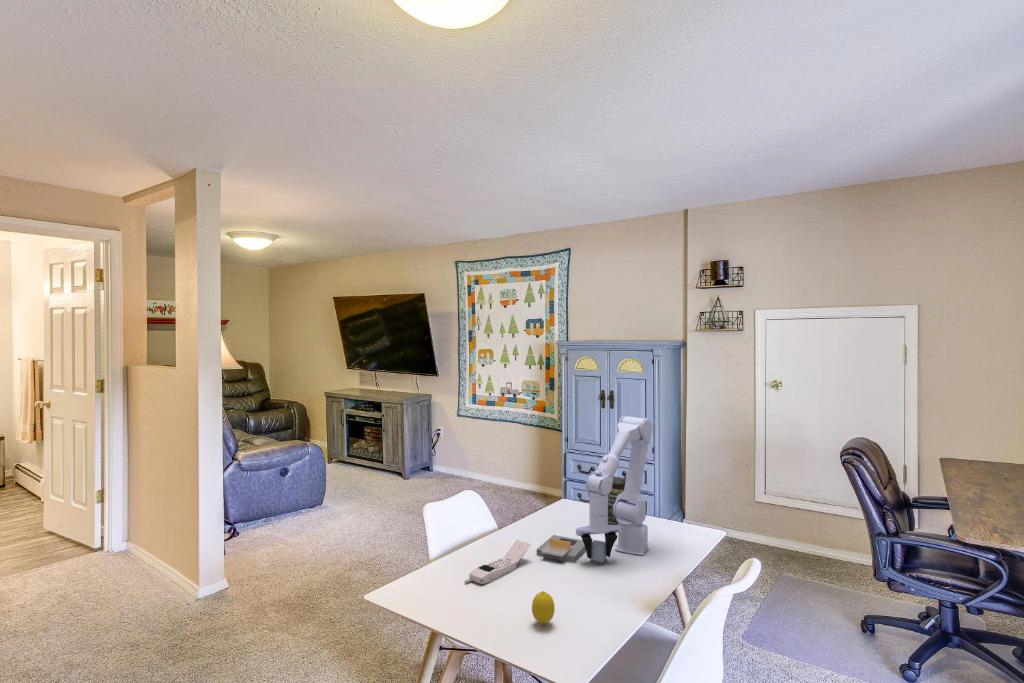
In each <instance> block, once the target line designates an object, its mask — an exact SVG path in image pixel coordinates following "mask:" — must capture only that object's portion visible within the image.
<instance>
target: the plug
mask: <svg viewBox="0 0 1024 683" xmlns="http://www.w3.org/2000/svg"><path fill="white" fill-rule="evenodd" d="M606 552H607V542H605V541H602V540H597V539H593V540H592V547H591V555H592V556H591V559H589V564H591V563H592V565H596V564H597V565H596V566H601V565H602V566H604V565H605V564H606V563H607V561H608V557H607V556H606ZM605 562H606V563H605ZM604 563H605V564H604ZM602 566H601V567H602Z"/></svg>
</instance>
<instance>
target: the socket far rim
mask: <svg viewBox="0 0 1024 683" xmlns="http://www.w3.org/2000/svg"><path fill="white" fill-rule="evenodd" d="M550 539H556V540H561V538H558V537H553V535H551V536H550V537H549V538H548V539H547V540H546V541H545V542H547V543H550Z"/></svg>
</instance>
